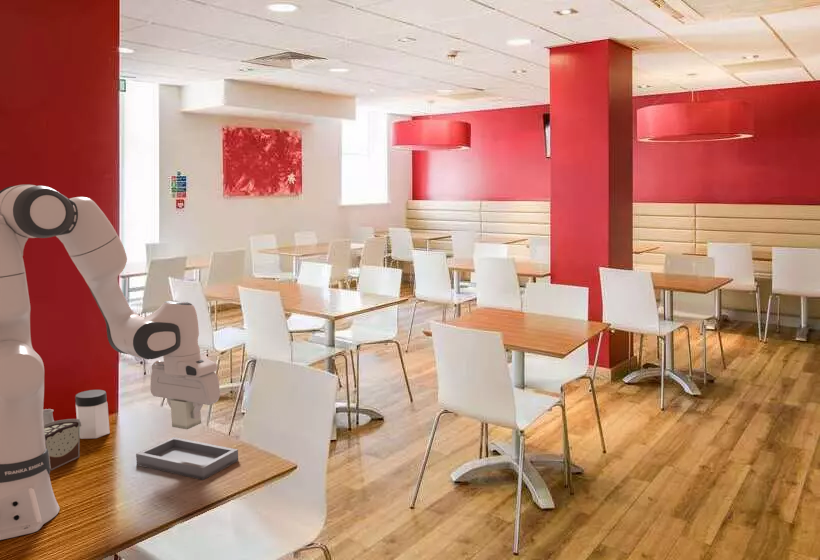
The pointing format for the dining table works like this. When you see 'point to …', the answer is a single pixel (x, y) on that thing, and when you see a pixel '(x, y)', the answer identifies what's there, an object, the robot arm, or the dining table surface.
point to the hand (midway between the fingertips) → (186, 416)
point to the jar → (92, 413)
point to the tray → (187, 458)
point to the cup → (183, 414)
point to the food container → (62, 441)
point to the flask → (48, 416)
